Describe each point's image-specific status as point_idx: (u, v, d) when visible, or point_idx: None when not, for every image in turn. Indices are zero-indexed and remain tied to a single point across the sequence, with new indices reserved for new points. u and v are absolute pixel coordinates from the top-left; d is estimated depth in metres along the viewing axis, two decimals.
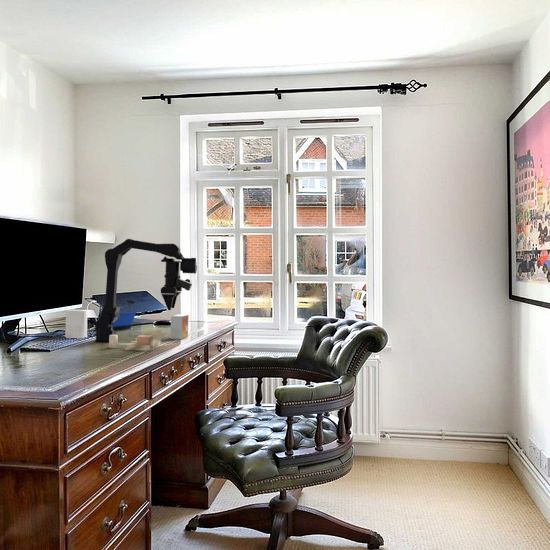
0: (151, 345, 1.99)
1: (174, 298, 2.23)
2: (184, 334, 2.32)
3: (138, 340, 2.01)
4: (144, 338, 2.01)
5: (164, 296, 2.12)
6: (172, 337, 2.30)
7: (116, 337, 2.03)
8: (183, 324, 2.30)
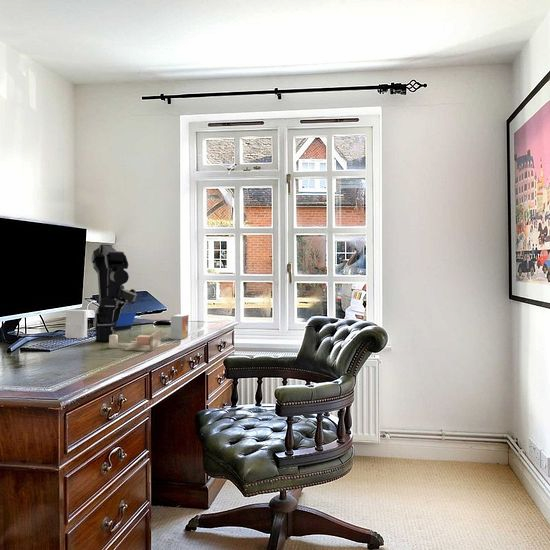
0: (151, 345, 1.99)
1: (118, 310, 2.08)
2: (184, 334, 2.32)
3: (138, 340, 2.01)
4: (144, 338, 2.01)
5: (104, 308, 1.97)
6: (172, 337, 2.30)
7: (116, 337, 2.03)
8: (183, 324, 2.30)
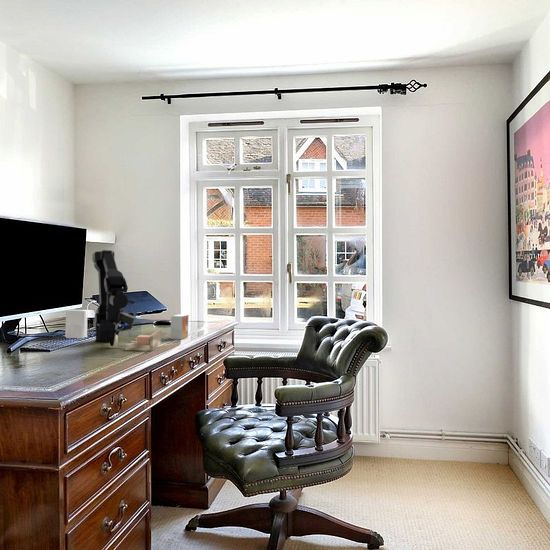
0: (151, 345, 1.99)
1: (116, 333, 2.05)
2: (184, 334, 2.32)
3: (138, 340, 2.01)
4: (144, 338, 2.01)
5: (106, 331, 2.00)
6: (172, 337, 2.30)
7: (116, 337, 2.03)
8: (183, 324, 2.30)
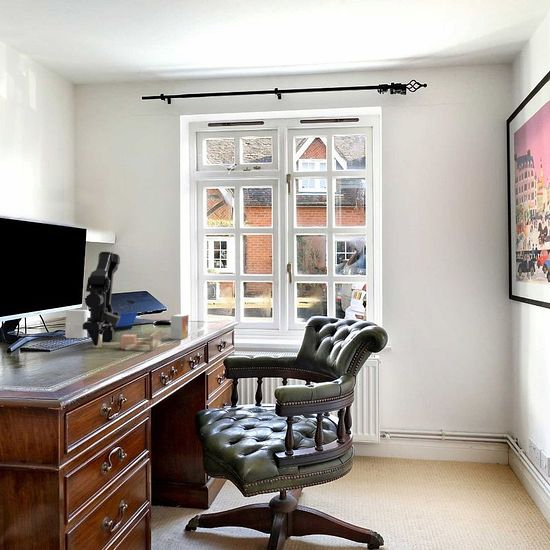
0: (151, 345, 1.99)
1: (100, 333, 2.05)
2: (184, 334, 2.32)
3: (123, 339, 2.01)
4: (129, 337, 2.02)
5: (89, 331, 1.99)
6: (172, 337, 2.30)
7: (100, 337, 2.03)
8: (183, 324, 2.30)
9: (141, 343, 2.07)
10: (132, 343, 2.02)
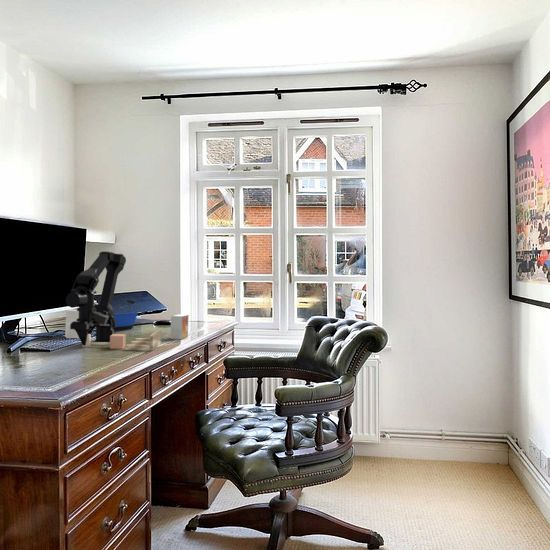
0: (151, 345, 1.99)
1: (88, 333, 2.05)
2: (184, 334, 2.32)
3: (111, 339, 2.01)
4: (118, 337, 2.02)
5: (77, 331, 1.99)
6: (172, 337, 2.30)
7: (89, 336, 2.02)
8: (183, 324, 2.30)
9: (141, 343, 2.07)
10: (121, 343, 2.02)
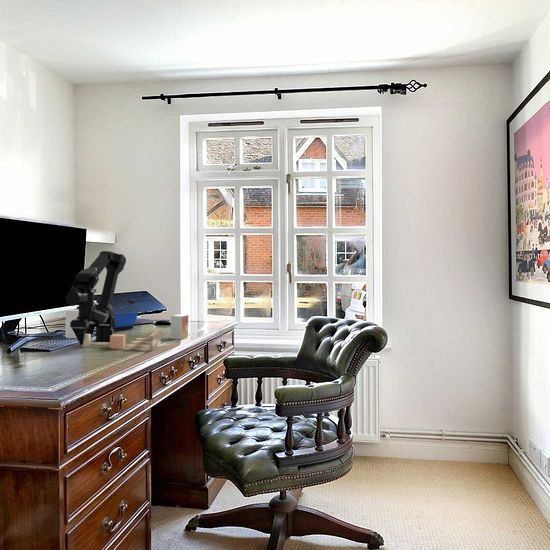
0: (151, 345, 1.99)
1: (90, 330, 2.08)
2: (184, 334, 2.32)
3: (111, 339, 2.01)
4: (118, 337, 2.02)
5: (75, 330, 1.96)
6: (172, 337, 2.30)
7: (89, 336, 2.02)
8: (183, 324, 2.30)
9: (141, 343, 2.07)
10: (121, 343, 2.02)
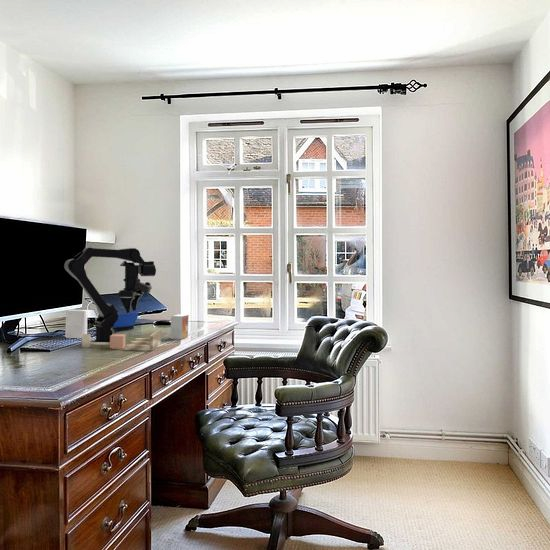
0: (151, 345, 1.99)
1: (135, 301, 2.29)
2: (184, 334, 2.32)
3: (111, 339, 2.01)
4: (118, 337, 2.02)
5: (122, 299, 2.18)
6: (172, 337, 2.30)
7: (89, 336, 2.02)
8: (183, 324, 2.30)
9: (141, 343, 2.07)
10: (121, 343, 2.02)
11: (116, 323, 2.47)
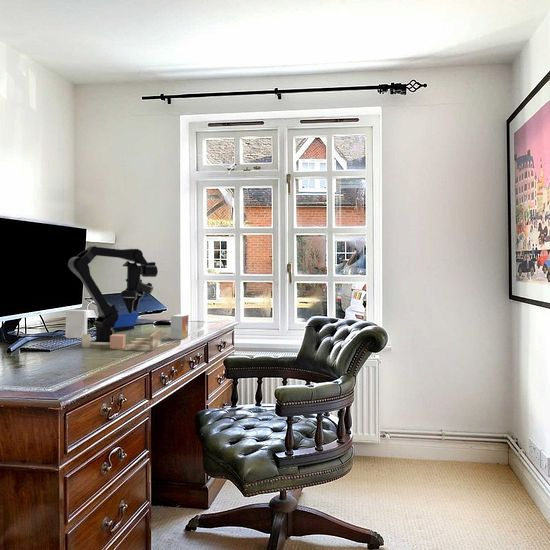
0: (151, 345, 1.99)
1: (136, 301, 2.31)
2: (184, 334, 2.32)
3: (111, 339, 2.01)
4: (118, 337, 2.02)
5: (125, 299, 2.19)
6: (172, 337, 2.30)
7: (89, 336, 2.02)
8: (183, 324, 2.30)
9: (141, 343, 2.07)
10: (121, 343, 2.02)
11: (117, 323, 2.46)
